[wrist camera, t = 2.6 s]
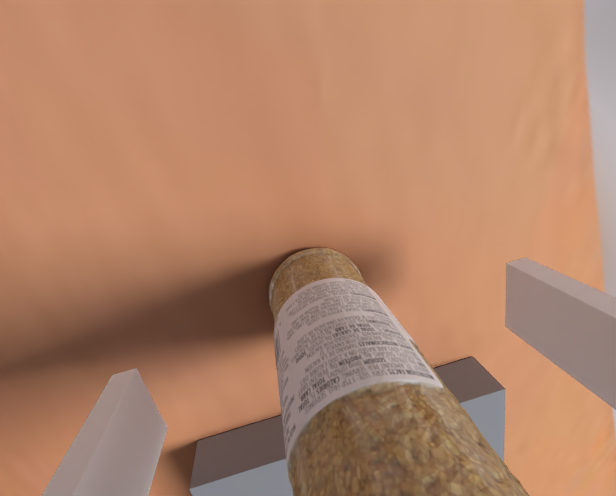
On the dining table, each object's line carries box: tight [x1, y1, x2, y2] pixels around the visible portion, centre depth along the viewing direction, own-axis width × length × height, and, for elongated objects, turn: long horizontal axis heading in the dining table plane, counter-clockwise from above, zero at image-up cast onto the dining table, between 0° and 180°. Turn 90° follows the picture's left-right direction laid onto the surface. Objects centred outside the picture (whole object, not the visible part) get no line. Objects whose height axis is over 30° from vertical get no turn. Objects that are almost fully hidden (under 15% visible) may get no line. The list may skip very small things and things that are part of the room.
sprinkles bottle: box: [269, 248, 529, 496], centre depth 9 cm, size 5×5×13 cm
